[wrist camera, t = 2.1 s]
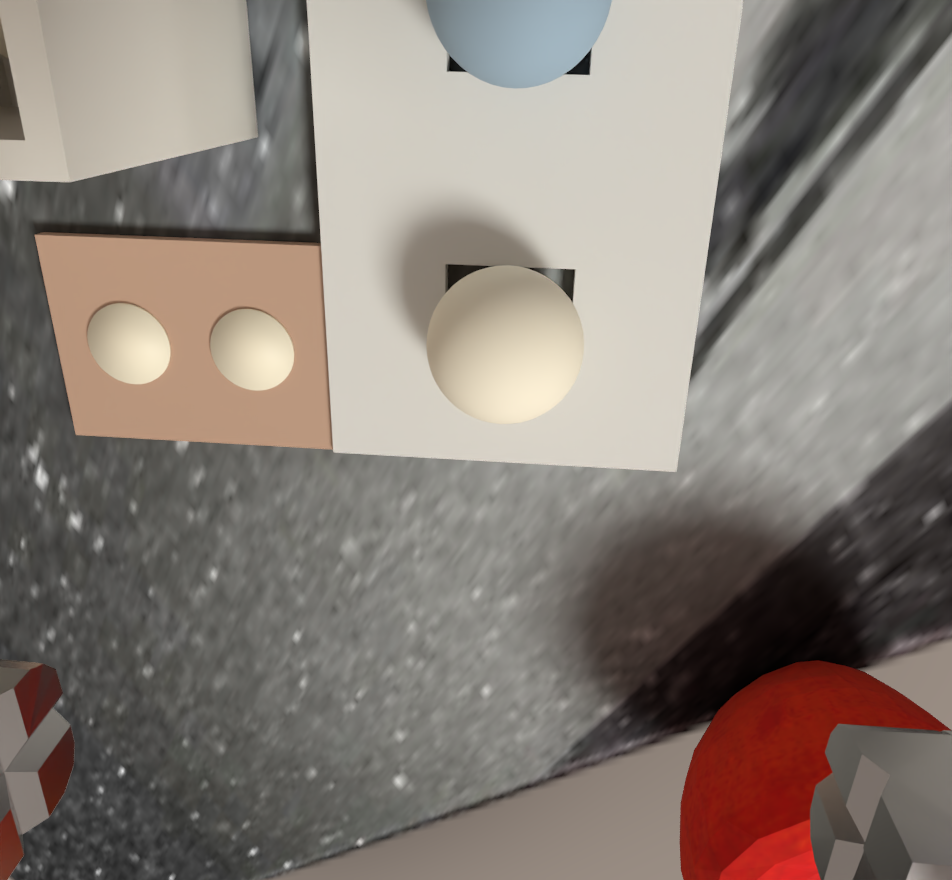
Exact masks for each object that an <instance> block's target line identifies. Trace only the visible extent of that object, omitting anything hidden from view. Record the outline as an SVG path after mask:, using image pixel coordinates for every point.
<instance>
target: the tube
mask: <svg viewBox="0 0 952 880" xmlns="http://www.w3.org/2000/svg"><path fill="white" fill-rule="evenodd" d="M0 18H1V23H2V28H3V33H4V38H5V42H6V47H7V52H8V57H9V59H7V58H6V57H4V56H3V55H1V54H0V180H19V181H48V182H73V181H77V180H82V179H86V178H90V177H94V176H98V175H102V174H107V173H111V172H115V171H119V170H123V169H127V168H132V167H136V166H140V165H144V164H148V163H152V162H157V161H161V160H165V159H169V158H173V157H177V156H182V155H186V154H190V153H194V152H198V151H202V150H207V149H211V148H215V147H219V146H223V145H227V144H231V143H236V142H240V141H244V140H248V139H252V138H256V137H258V129H257V117H256V106H255V94H254V83H253V71H252V60H251V48H250V37H249V25H248V14H247V2H246V0H0Z"/></svg>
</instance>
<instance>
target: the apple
mask: <svg viewBox="0 0 952 880" xmlns="http://www.w3.org/2000/svg"><path fill="white" fill-rule="evenodd" d="M838 724H850V725H865V726H880V727H895V728H910V729H924V730H936V731H940V732H941V731H943V730H949V731H952V730H950V729H949V728H948V727H946V726H945V725H944V724H942V723H941V722H940V721H938V720H937V719H936V718H935V717H933V716H932V715H931V714H929V713H928V712H927V711H925V710H924V709H922V708H921V707H919V706H918V705H917V704H915V703H914V702H912V701H911V700H909V699H908V698H907V697H905V696H904V695H902V694H901V693H899V692H898V691H896V690H895V689H893V688H891V687H889V686H888V685H886V684H884V683H882V682H880V681H879V680H877V679H876V678H874V677H872V676H871V675H869V674H867V673H865V672H863V671H860V670H857V669H854V668H851V667H848V666H844V665H839V664H834V663H829V662H824V661H819V660H816V661H805V662H796V663H793V664H791V665H788V666H785V667H783V668H780V669H777V670H775V671H772V672H769V673H767V674H764V675H762V676H761V677H759V678H758V679H756V680H755V681H753V682H752V683H751V684H749V685H748V686H746V687H745V688H743V689H742V690H740V691H739V692H737V693H736V694H734V695H733V696H732V697H731V698H730V699H729V700H728V701H727V702H726V703H725V704H724V705H723V706H722V707H721V708H720V709H719V710H718V712H717V713H716V715H715V717H714V718H713V720H712V722H711V723H710V725H709V727H708V728H707V730H706V732H705V733H704V735H703V737H702V738H701V740H700V742H699V743H698V745H697V747H696V748H695V750H694V753H693V757H692V760H691V763H690V767H689V770H688V773H687V777H686V781H685V786H684V790H683V795H682V800H681V815H680V858H681V872H682V875H683V879H684V880H821V879H820V876H819V873H818V870H817V867H816V864H815V860H814V855H813V850H812V844H811V839H810V808H811V804H812V799H813V795H814V791H815V786H816V785H817V784H818V783H819V782H821V781H822V780H823V779H825V778H826V777H827V776H829V775H830V774H831V773H833V772H832V769H831V767H830V764H829V762H828V759H827V757H826V754H825V750H826V747H827V744H828V740H829V737H830V734H831V732H832V731H833V730H834V729H835V727H836V726H837V725H838Z"/></svg>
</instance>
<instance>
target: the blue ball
mask: <svg viewBox="0 0 952 880" xmlns="http://www.w3.org/2000/svg"><path fill="white" fill-rule="evenodd" d="M611 2H612V0H426V3H427V8H428V13H429V16H430V19H431V23H432V25H433V28H434V30H435V32H436V35H437V37H438V38H439V40H440V42H441V43H442V45H443V47H444V48H445V50H446V51H447V52H448V53H449V55H450V56H451V57H452V58H453V59H454V60H455V61H456V62H457V63H458V64H459V65H460V66H461V67H462V68H463V69H464V70H466V71H467V72H468V73H470V74H471V75H473V76H474V77H476V78H478V79H480V80H482V81H484V82H487V83H489V84H492V85H496V86H500V87H504V88H515V89H516V88H529V87H535V86H539V85H542V84H545V83H548V82H551V81H553V80H555V79H557V78H559V77H561V76H562V75H564V74H565V73H567V72H568V71H570V70H571V69H572V68H573V67H574V66H576V65H577V64H578V63H579V62H580V61H581V60H582V59H583V58H584V57H585V56H586V54H587V53H588V52H589V51H590V49H591V48H592V47H593V45H594V44H595V42H596V41H597V39H598V37H599V35H600V33H601V31H602V30H603V27H604V25H605V22H606V20H607V17H608V14H609V10H610V6H611Z"/></svg>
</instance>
